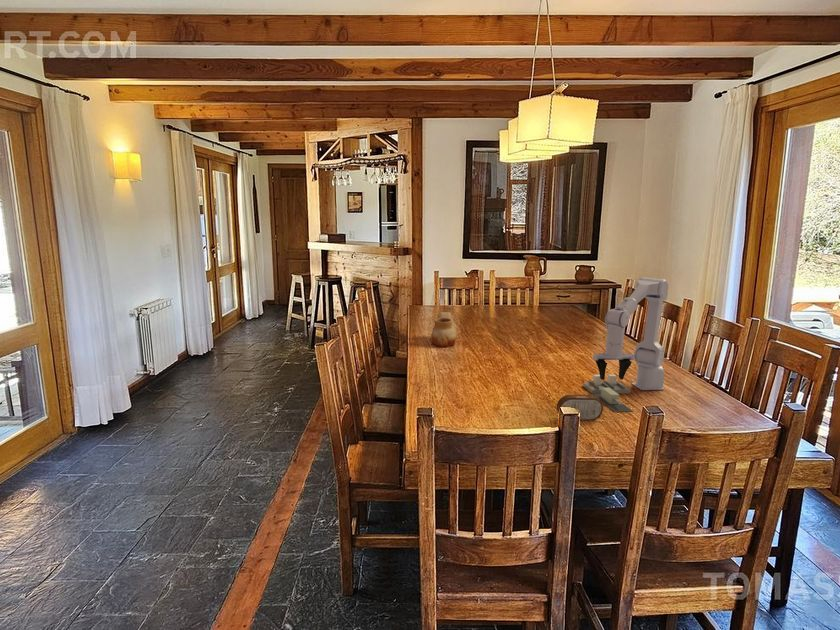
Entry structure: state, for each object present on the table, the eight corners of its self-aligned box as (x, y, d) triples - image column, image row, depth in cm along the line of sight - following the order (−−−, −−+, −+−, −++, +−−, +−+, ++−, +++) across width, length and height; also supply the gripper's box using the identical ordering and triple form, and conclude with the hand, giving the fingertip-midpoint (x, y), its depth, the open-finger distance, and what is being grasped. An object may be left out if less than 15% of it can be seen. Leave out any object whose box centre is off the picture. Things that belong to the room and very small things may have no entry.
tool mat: (610, 394, 197) (610, 393, 197) (633, 411, 179) (633, 411, 179) (592, 394, 196) (592, 394, 196) (613, 412, 179) (613, 411, 179)
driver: (608, 396, 194) (609, 387, 193) (624, 409, 181) (625, 399, 181) (600, 396, 194) (601, 387, 193) (616, 409, 181) (617, 399, 180)
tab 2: (613, 383, 206) (614, 374, 205) (616, 384, 203) (617, 376, 202) (606, 383, 205) (607, 374, 205) (609, 385, 203) (610, 376, 202)
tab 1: (599, 383, 205) (600, 374, 204) (601, 385, 203) (602, 376, 202) (591, 383, 205) (592, 374, 204) (594, 385, 202) (595, 376, 202)
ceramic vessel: (457, 337, 287) (458, 310, 285) (456, 348, 262) (457, 319, 259) (433, 336, 289) (433, 309, 286) (429, 347, 263) (430, 318, 260)
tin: (599, 418, 173) (601, 394, 172) (603, 421, 170) (605, 397, 169) (555, 417, 173) (557, 393, 171) (558, 421, 170) (559, 397, 168)
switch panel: (619, 385, 207) (619, 379, 207) (629, 393, 199) (630, 387, 198) (583, 386, 206) (583, 380, 206) (592, 393, 197) (592, 387, 197)
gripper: (599, 345, 181) (596, 382, 184) (639, 345, 182) (636, 382, 185) (591, 340, 188) (588, 376, 191) (630, 340, 189) (626, 376, 192)
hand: (611, 379), depth 188 cm, fingers open, 6 cm apart
